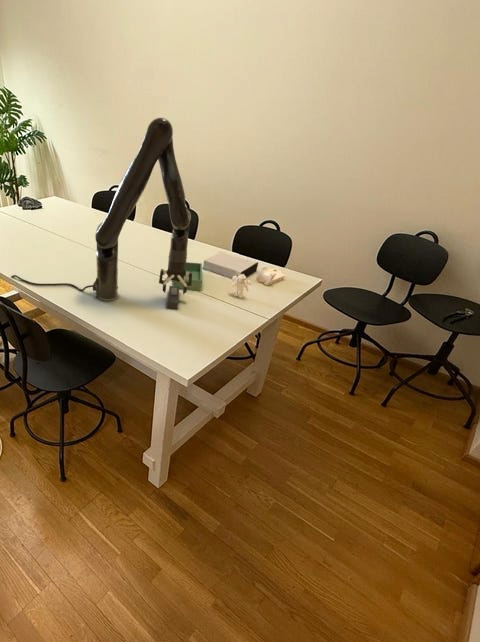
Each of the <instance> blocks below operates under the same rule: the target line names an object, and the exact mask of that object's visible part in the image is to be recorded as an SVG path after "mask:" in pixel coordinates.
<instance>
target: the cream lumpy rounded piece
mask: <svg viewBox="0 0 480 642" xmlns="http://www.w3.org/2000/svg"><path fill="white" fill-rule="evenodd" d="M267 267H268V266H267V265H262V266H261V268H260V269H259V272H258V274H257V275H256V277H255V280H257V281H258V282H259V283H263V284H264V285H265V286H269V285H272V284H275V283H278V282H280V281H283V280H284V279H285V277H286V274H284V272H282V271H281V270H280V269H278V268H277V267H273V268H269V269H267Z"/></svg>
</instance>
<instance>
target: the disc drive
mask: <svg viewBox="0 0 480 642" xmlns="http://www.w3.org/2000/svg"><path fill="white" fill-rule="evenodd" d="M258 266H259V262H258V261H257V262H255V261H252V260H249V259H246V258H243V257H241V256H240V257H239V256H236V255H233V254H231V253H227V252H224V251H220V252H218V253H215V254H213V255H212V256H209V257H208V258H205V259H204V260H203V264H202V269H204V270H207V271H210V272H213V273H215V274H219V275H222V276H224V277H228V278H230V279H232V278H233V276H235V275H236V276H237V278H238V276H240V275H241V274H244V275H245V277H246V279H247V278H248V277H250V276H252V275H254V273H256V272H257V270H258ZM237 272H239V273H241V274H240V275H238V274H237Z"/></svg>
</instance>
